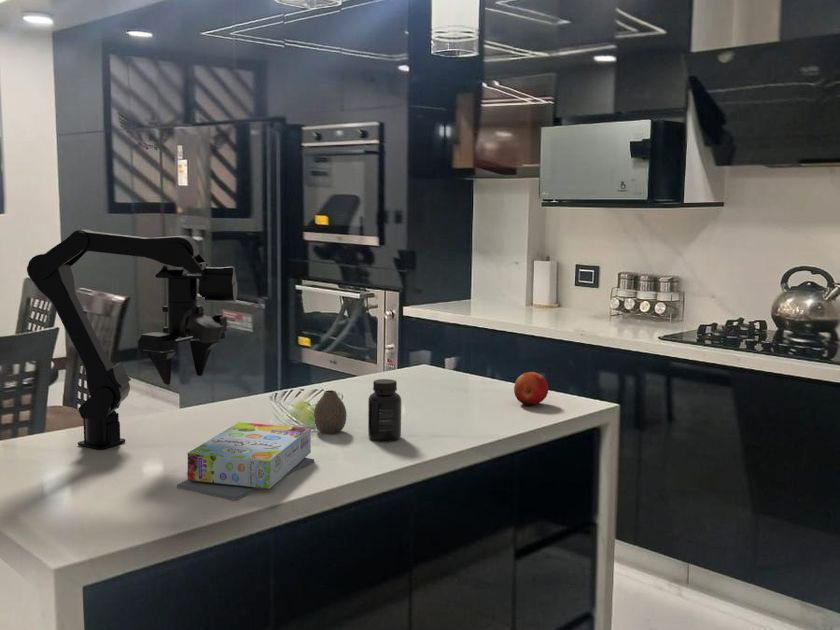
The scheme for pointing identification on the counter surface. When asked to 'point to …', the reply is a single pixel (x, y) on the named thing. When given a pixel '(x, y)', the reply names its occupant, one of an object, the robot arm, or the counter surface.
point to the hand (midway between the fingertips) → (183, 379)
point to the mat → (231, 490)
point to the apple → (530, 388)
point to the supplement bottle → (384, 411)
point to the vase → (330, 413)
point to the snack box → (249, 455)
